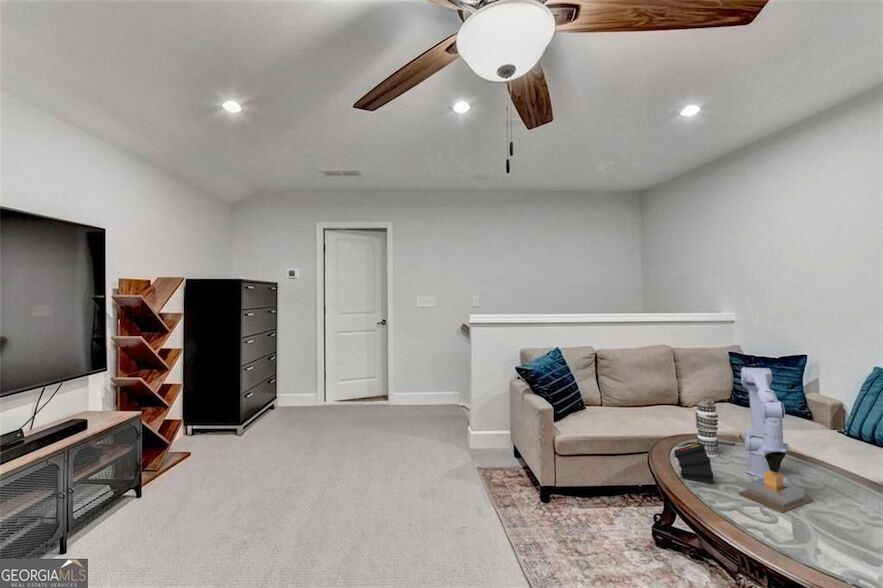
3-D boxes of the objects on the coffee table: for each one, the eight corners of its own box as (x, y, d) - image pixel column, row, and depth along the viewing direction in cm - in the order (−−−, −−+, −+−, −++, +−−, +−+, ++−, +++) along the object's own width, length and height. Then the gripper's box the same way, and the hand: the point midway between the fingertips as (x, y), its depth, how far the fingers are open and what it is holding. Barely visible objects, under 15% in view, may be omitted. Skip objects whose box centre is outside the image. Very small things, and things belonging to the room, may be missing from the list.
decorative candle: (721, 452, 194) (719, 400, 194) (717, 459, 187) (715, 404, 187) (698, 448, 200) (697, 397, 200) (694, 454, 193) (692, 401, 193)
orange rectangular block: (771, 491, 154) (770, 470, 154) (783, 496, 151) (782, 474, 151) (764, 493, 153) (764, 472, 153) (776, 498, 149) (776, 476, 149)
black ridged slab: (722, 482, 162) (702, 445, 165) (688, 490, 168) (668, 454, 171) (722, 478, 165) (701, 442, 168) (688, 486, 171) (669, 451, 175)
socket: (769, 485, 161) (768, 473, 161) (812, 501, 148) (812, 488, 148) (739, 495, 155) (739, 483, 155) (782, 512, 142) (781, 499, 142)
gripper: (772, 441, 145) (774, 479, 145) (797, 434, 151) (798, 471, 151) (751, 435, 152) (752, 471, 152) (775, 429, 157) (777, 464, 157)
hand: (774, 471), depth 152 cm, fingers closed
